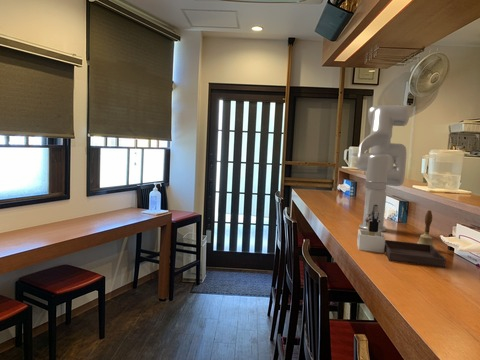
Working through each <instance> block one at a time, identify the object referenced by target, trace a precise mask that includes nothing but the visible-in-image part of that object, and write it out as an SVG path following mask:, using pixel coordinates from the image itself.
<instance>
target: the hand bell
mask: <svg viewBox="0 0 480 360" xmlns="http://www.w3.org/2000/svg"><path fill="white" fill-rule="evenodd" d="M432 222H433V214H432V210H431V209H430V210H429V209H428V210H427V212H426V214H425V217H424V225H425V228H424V233H421V234H420V236H419V238H418V241H417V243H418V244H427V245H432V246H433V247H434V248H435V246H434V241H433V239H434V238H433V236H431V234H430V229H431V228H430V227H431V224H432Z"/></svg>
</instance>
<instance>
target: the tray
mask: <svg viewBox="0 0 480 360" xmlns="http://www.w3.org/2000/svg"><path fill="white" fill-rule="evenodd" d="M433 246H434V245H433ZM433 246H432V245H427V244H418V242H416V243H415V242H407V241H400V240H397V241H396V240H391V239H385V248H384V254H385V256H386V257H387V260H388V261H389V262H396V263H403V264H411V265H418V266H419V265H420V266H426V267H435V268H442V269H445V268H446V264H447V259H446V258H445V257H444V256H443V255H442V254H441V253H440V252H439V251H438V250H437V248H435V246H434V247H433Z"/></svg>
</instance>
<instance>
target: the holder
mask: <svg viewBox="0 0 480 360" xmlns="http://www.w3.org/2000/svg"><path fill="white" fill-rule="evenodd" d="M385 240H386V236H385V235H384V232H383V231H381V232H379V231H378V232H375V235H374V236H369V235H368V230H365V229H361V228H360V229H357V240H356V244H357V249H358V251H365V252H372V253H373V252H374V253H380V254H381V253H383V254H385V252H384V248H385Z"/></svg>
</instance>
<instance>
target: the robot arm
mask: <svg viewBox="0 0 480 360" xmlns="http://www.w3.org/2000/svg"><path fill="white" fill-rule="evenodd" d="M367 115H368V118H367V119H368V124H369V126H370V130H371V131H370V134H368V135H367V136H366V137H365V138H364V139H363V140H361V142H360V144H359V145H358V149H357V151H356V159H355V166H356V168H357V170H359V171H362V172H365V188H364V189H365V196H364V197H365V199H364V208H363V218H362V223H360V224H359V225H358V227H359V228H360V229H361V230H368V227H367V222H366V221H365V219H366V218H367V215H369V214H371V221H370V223H369V231H370V232H378V231H379V232H386V231H387V227H386V226H385V225H384V220H385V212H386V203H387V192H386V191H387V186H390V187H391V186H392V187H401V186H402V185H403V184H404V183H405V176H406V163H407V147H406V145H404V144H402V143H396V142H395V143H394V142H393V143H392V142H391V140H392V137H393V127H405V126H407V125H408V122H409V119H410V110H409V107H408V106H407V105H401V104H400V105H397V104H395V105H393V104H392V105H388V104H385V105H382V104H381V105H380V104H378V105H373V106H371V107H369V108H368V113H367ZM368 149H370V152H366V151H367V150H368ZM372 216H373V218H372ZM379 220H380V223H379Z"/></svg>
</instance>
